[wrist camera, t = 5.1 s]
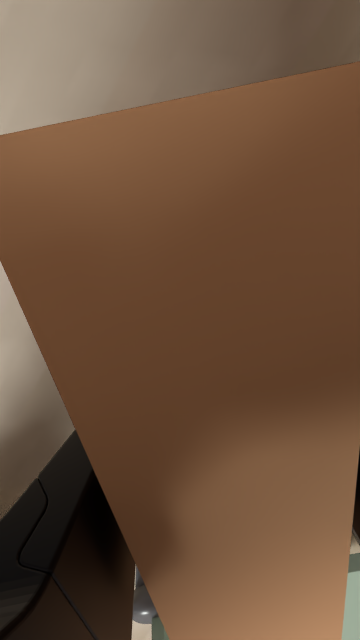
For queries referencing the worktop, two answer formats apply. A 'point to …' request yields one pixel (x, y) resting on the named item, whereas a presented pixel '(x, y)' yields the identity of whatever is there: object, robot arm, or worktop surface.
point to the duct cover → (356, 622)
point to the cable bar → (207, 337)
